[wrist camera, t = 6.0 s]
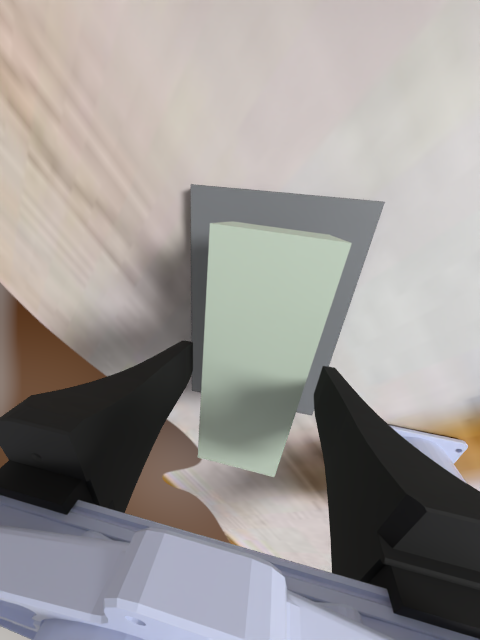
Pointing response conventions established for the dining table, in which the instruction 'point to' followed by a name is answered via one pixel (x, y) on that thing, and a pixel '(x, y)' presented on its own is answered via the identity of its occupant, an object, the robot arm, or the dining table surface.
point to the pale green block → (261, 336)
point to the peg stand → (289, 213)
